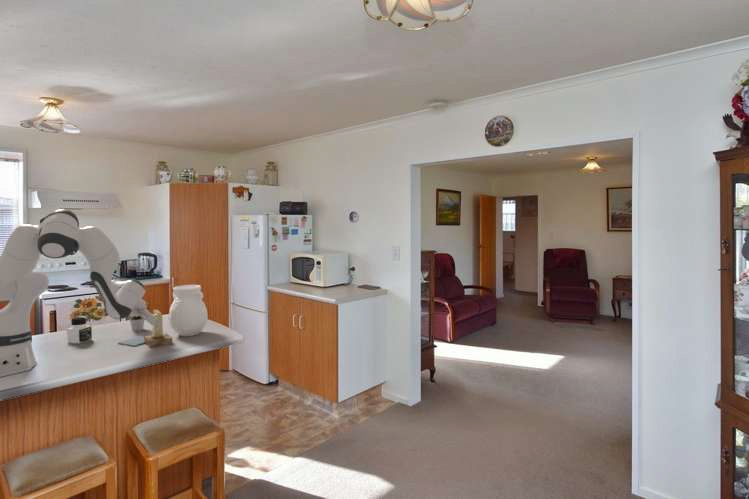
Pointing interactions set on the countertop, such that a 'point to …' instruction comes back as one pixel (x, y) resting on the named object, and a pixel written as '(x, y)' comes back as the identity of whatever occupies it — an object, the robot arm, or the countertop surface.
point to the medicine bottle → (79, 331)
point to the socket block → (158, 340)
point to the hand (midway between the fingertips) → (158, 324)
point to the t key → (157, 330)
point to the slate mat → (133, 341)
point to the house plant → (137, 322)
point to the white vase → (188, 310)
